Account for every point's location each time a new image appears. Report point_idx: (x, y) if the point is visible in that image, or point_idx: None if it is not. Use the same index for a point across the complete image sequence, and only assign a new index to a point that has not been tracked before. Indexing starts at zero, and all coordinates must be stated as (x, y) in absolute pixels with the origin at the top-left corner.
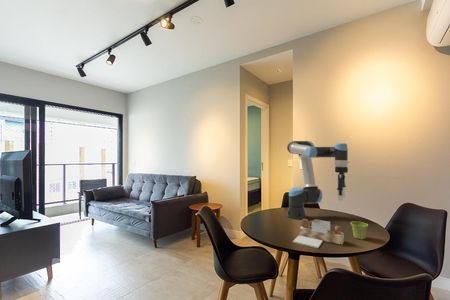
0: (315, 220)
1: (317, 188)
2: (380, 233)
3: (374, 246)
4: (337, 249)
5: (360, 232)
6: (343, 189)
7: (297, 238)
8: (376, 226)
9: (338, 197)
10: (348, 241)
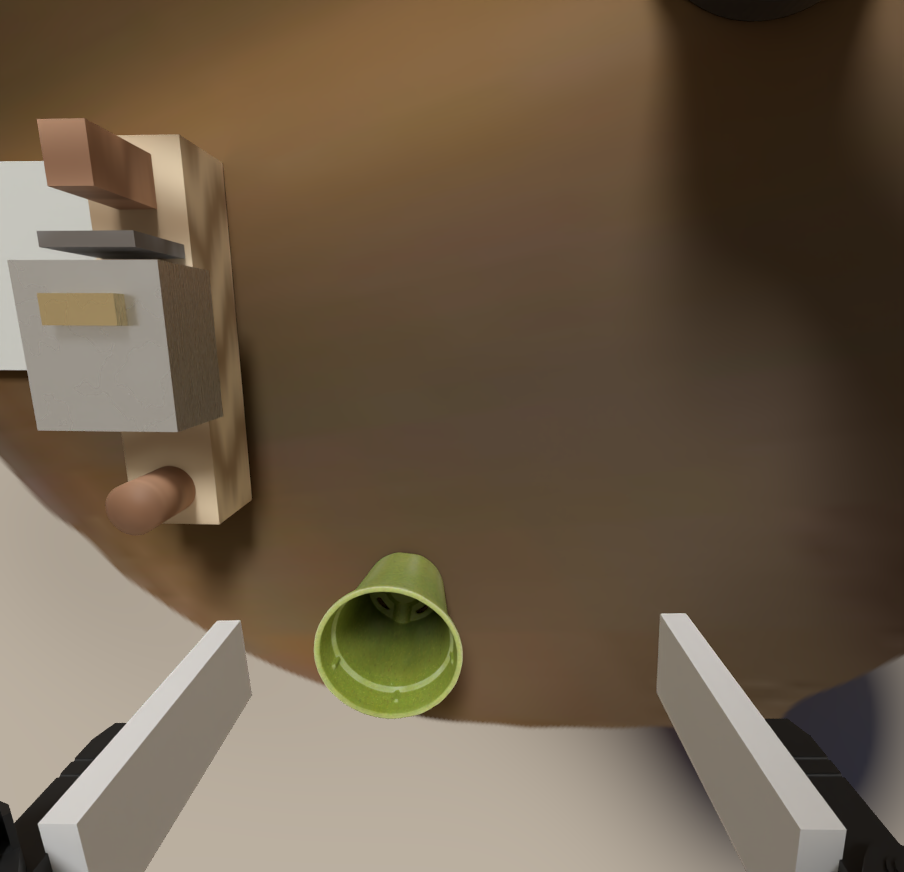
0: (111, 280)
1: None
2: (602, 706)
3: (292, 668)
4: (76, 481)
5: (349, 627)
6: (747, 839)
7: (22, 176)
8: (791, 686)
9: (185, 662)
10: (274, 527)
